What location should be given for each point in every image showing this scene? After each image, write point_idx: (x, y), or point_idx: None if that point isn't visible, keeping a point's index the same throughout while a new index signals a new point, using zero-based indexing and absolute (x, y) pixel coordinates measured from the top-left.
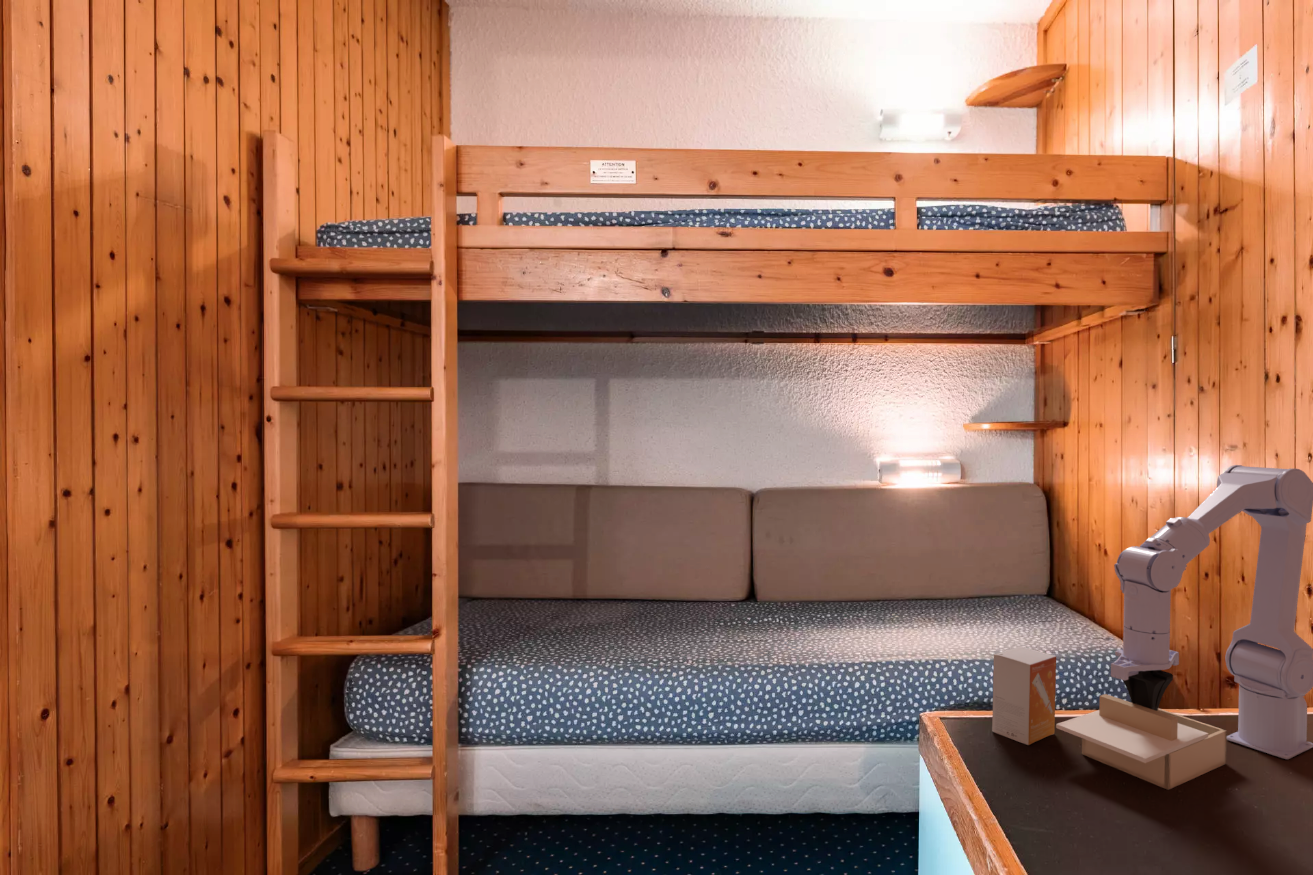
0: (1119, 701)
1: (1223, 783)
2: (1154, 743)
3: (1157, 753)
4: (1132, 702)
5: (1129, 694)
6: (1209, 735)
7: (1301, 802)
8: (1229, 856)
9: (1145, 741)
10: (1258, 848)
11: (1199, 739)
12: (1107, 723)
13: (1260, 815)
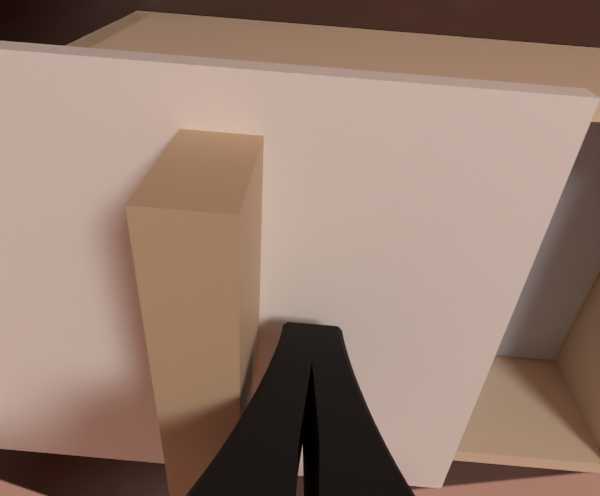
0: (170, 345)
1: None
2: (105, 420)
3: (24, 448)
4: (257, 390)
5: (231, 434)
6: (491, 455)
7: (417, 488)
8: (3, 465)
9: (83, 398)
10: (95, 481)
11: None
12: (99, 223)
13: None
